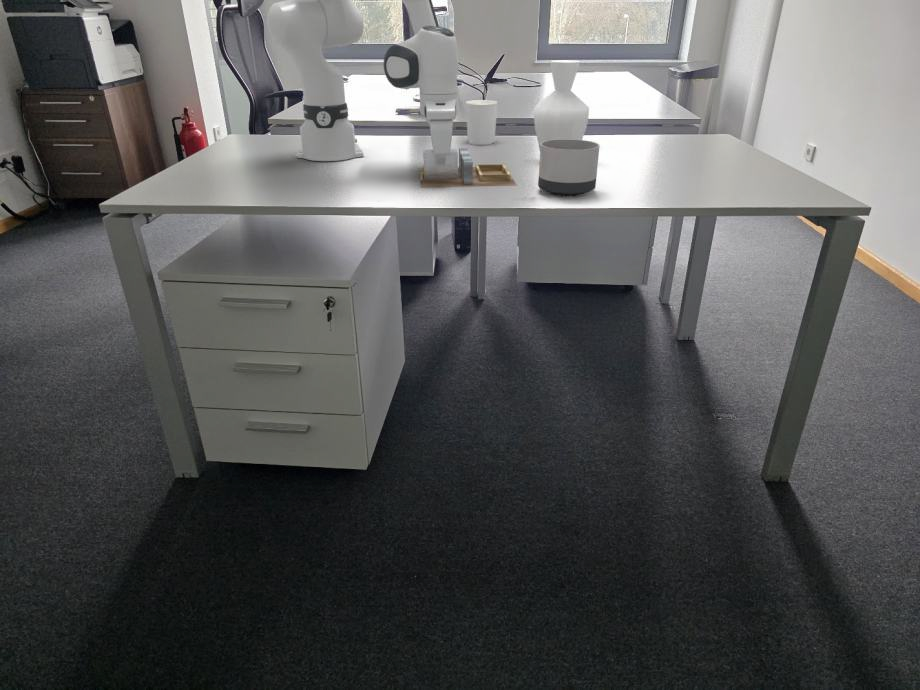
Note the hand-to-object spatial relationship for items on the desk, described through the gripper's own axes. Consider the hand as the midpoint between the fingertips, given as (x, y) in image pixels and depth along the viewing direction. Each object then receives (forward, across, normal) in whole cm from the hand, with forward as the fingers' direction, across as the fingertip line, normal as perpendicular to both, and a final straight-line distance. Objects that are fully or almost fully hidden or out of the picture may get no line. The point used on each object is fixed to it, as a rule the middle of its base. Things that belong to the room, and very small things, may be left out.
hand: (440, 167), depth 147 cm
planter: (+4, +12, +28) cm, 31 cm away
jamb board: (+3, 0, +6) cm, 7 cm away
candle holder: (+4, -50, +15) cm, 52 cm away
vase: (+4, -20, +33) cm, 39 cm away
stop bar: (+2, 0, 0) cm, 2 cm away
